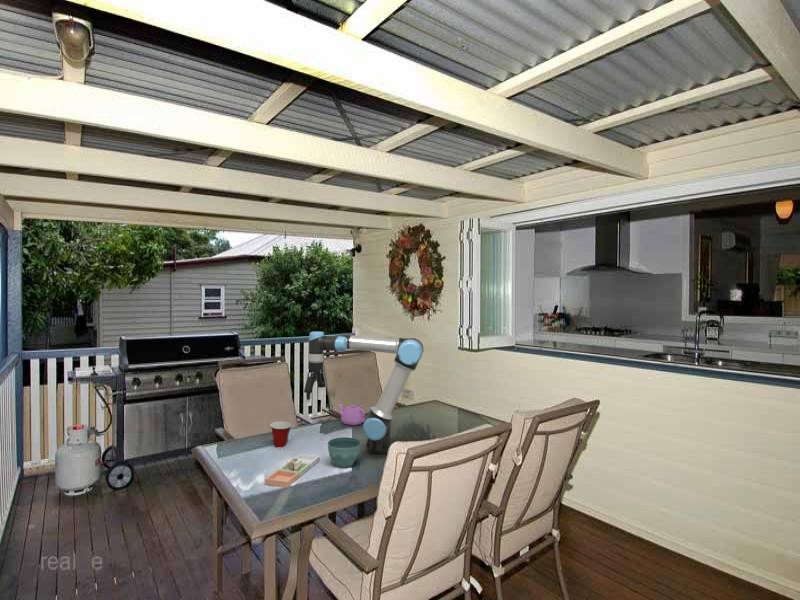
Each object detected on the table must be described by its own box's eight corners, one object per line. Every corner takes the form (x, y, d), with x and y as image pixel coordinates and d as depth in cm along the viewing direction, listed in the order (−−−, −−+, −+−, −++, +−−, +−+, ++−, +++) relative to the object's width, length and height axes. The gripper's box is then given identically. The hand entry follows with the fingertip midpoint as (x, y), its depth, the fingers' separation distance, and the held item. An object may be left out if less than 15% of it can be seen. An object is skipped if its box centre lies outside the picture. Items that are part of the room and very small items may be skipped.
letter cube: (301, 470, 212) (301, 459, 212) (296, 474, 207) (296, 463, 207) (291, 468, 214) (291, 457, 213) (286, 472, 209) (286, 461, 209)
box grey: (319, 461, 225) (319, 456, 225) (310, 469, 215) (310, 463, 215) (300, 458, 228) (300, 453, 228) (289, 466, 217) (290, 461, 217)
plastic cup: (278, 451, 238) (278, 428, 238) (265, 446, 244) (266, 424, 244) (294, 445, 246) (295, 423, 246) (282, 441, 253) (282, 420, 253)
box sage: (309, 469, 214) (309, 464, 214) (299, 478, 204) (299, 472, 204) (289, 466, 217) (289, 461, 217) (278, 474, 207) (278, 469, 207)
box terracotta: (298, 478, 204) (298, 472, 204) (286, 487, 193) (287, 482, 193) (277, 475, 206) (277, 469, 206) (264, 484, 196) (265, 478, 196)
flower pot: (346, 473, 211) (346, 450, 211) (320, 465, 219) (320, 443, 219) (366, 463, 224) (367, 441, 224) (341, 456, 233) (341, 435, 233)
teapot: (369, 422, 295) (370, 404, 295) (360, 428, 282) (360, 409, 282) (342, 418, 302) (343, 401, 302) (332, 423, 290) (332, 405, 290)
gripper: (319, 358, 247) (318, 396, 247) (297, 364, 223) (296, 407, 223) (332, 358, 245) (331, 398, 246) (311, 365, 221) (310, 408, 221)
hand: (314, 402), depth 234 cm, fingers open, 13 cm apart
